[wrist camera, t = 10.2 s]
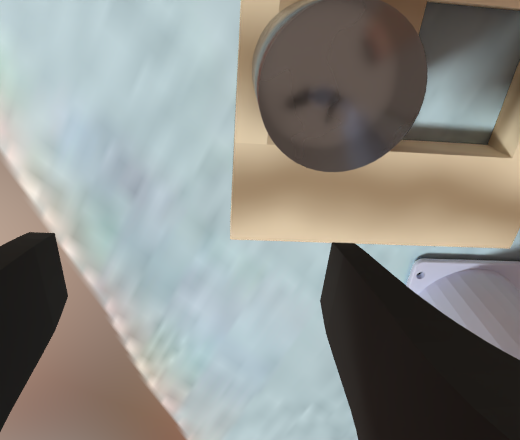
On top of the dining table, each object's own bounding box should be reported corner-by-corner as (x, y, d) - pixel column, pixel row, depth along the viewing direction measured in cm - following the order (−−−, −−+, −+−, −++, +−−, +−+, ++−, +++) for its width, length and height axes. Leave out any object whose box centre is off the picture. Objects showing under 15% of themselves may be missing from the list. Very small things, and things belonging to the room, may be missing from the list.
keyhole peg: (345, 123, 19) (398, 178, 13) (243, 112, 18) (249, 164, 12) (372, 7, 16) (452, 9, 10) (256, -10, 16) (270, -18, 10)
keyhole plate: (488, 229, 22) (510, 248, 21) (230, 219, 21) (230, 239, 19) (643, -132, 15) (698, -151, 13) (249, -186, 13) (252, -216, 11)
